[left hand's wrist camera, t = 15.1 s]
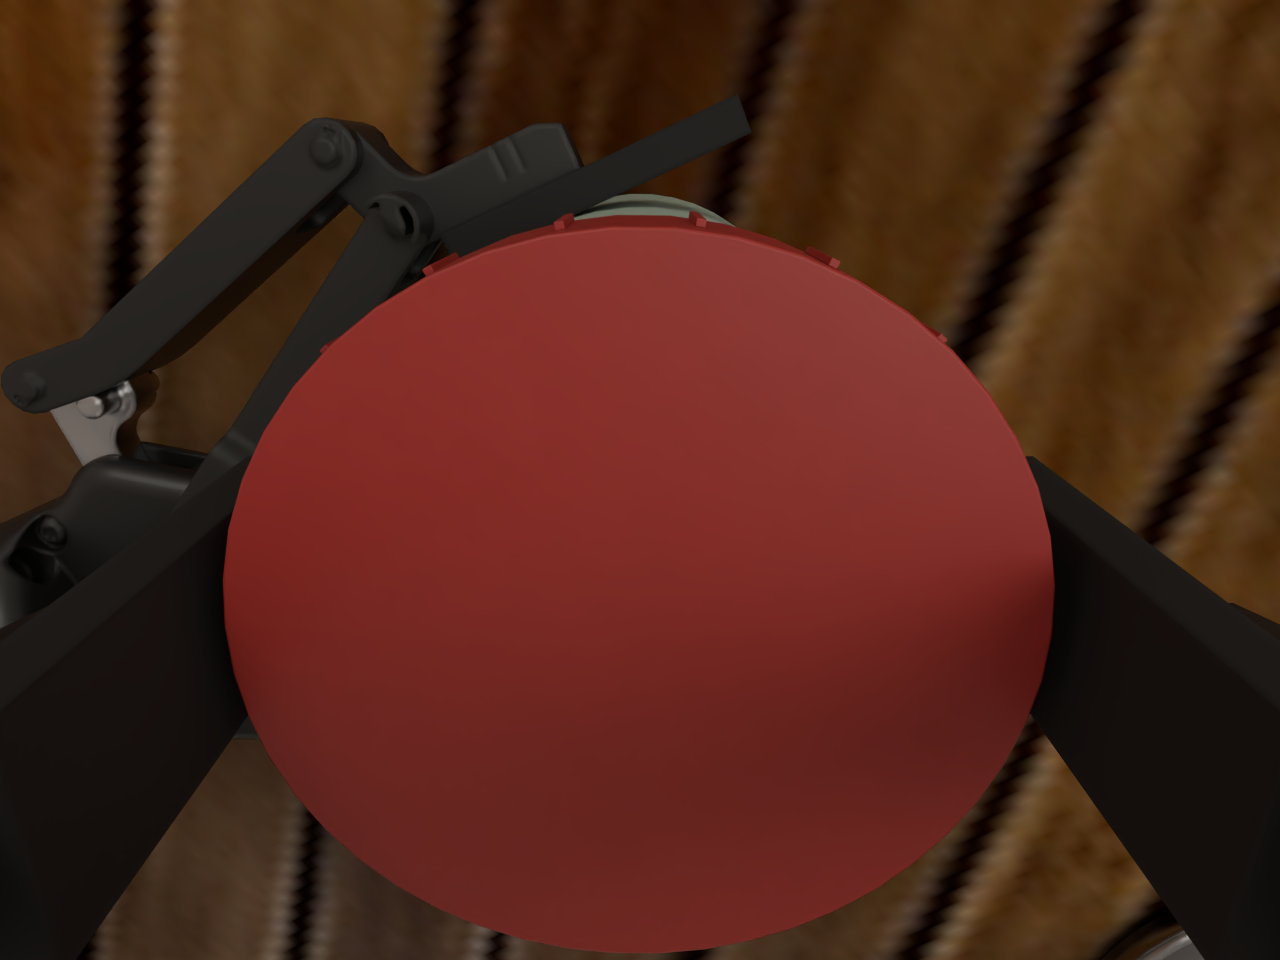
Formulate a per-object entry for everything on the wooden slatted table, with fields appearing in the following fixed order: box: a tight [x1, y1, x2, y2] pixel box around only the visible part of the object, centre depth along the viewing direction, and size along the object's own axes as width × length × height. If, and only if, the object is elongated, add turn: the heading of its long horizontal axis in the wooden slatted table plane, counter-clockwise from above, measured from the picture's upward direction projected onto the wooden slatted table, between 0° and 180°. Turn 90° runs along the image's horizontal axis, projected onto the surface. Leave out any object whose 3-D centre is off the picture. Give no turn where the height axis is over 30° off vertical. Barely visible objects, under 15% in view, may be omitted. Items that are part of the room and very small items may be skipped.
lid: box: [223, 211, 1055, 953], centre depth 11 cm, size 10×10×2 cm
